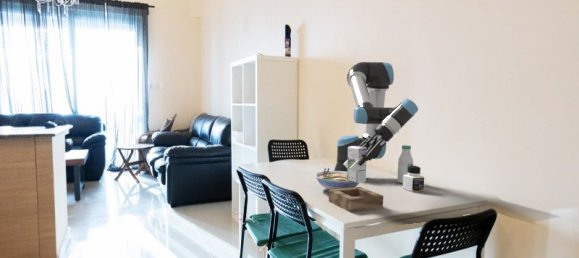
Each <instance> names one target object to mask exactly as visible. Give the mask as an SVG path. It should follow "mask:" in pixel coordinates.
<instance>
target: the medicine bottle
mask: <svg viewBox="0 0 579 258" xmlns="http://www.w3.org/2000/svg"><path fill="white" fill-rule="evenodd" d="M421 169H422V167H420V166H418V165H414V164H413V165H411V166H408V172H407V174H408V175H403V183H402V189H403V190H405V191H407V192H411V193H417V192H424V190H425V189H424V188H425V187H424V186H425V177H424V176H423V175H421Z"/></svg>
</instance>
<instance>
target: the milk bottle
mask: <svg viewBox="0 0 579 258" xmlns="http://www.w3.org/2000/svg"><path fill="white" fill-rule="evenodd" d="M411 150H412V146H411V145H406V144H403V145H401V154H400V156H399V157H398V162H397V176H396V177H397V178H396V179H397V183H398V184H399V183H400V184H403V175H408V174H407V172H408V166H411V165H414V159H413V156H412V153H411Z"/></svg>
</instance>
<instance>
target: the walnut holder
mask: <svg viewBox="0 0 579 258" xmlns="http://www.w3.org/2000/svg"><path fill="white" fill-rule="evenodd" d="M328 203H331V204H333V205H335V206H337V207H338V208H342V210H345V211H347V212H349V213H355V212H361V211H362V212H363V211H370V210H376V209H383V208H384V195H382V194H380V193H377V192H374V191H372V190H370V189H367V188H364V187H361V186H356V187H352V188H342V189H332V190H329V189H328Z"/></svg>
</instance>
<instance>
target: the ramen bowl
mask: <svg viewBox="0 0 579 258" xmlns="http://www.w3.org/2000/svg"><path fill="white" fill-rule="evenodd" d="M314 174H315V178H316V180H317V182H318V183H319V185H320V186H321V187H323V188H325V189H328V191H329V190H332V189H342V188H352V187H358V185H359V184H360V183H355V182H351V181H347V172H344V171H334V170H330V168H329V167H327V168H326V167H324V170H322V171H318V172H316V173H314Z"/></svg>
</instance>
